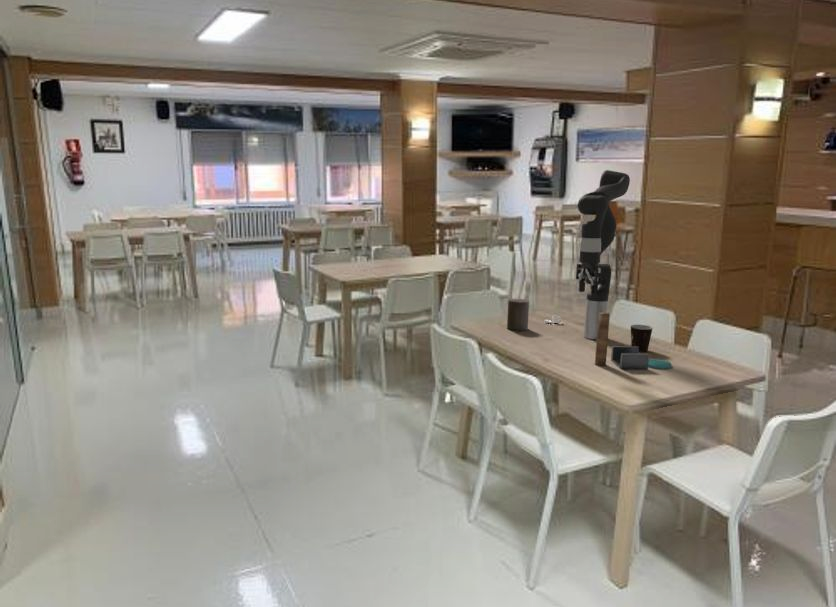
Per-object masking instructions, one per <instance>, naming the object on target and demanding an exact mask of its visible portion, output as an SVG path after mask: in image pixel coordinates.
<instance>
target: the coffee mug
mask: <svg viewBox="0 0 836 607" xmlns="http://www.w3.org/2000/svg"><path fill="white" fill-rule="evenodd" d="M652 332H653V326H650V325H647V324H631V325H630V346H638V347H639V352H638V353H647V351H649V347H650V342H651V338H652V334H653V333H652Z"/></svg>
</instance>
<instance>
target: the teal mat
mask: <svg viewBox="0 0 836 607" xmlns="http://www.w3.org/2000/svg"><path fill="white" fill-rule="evenodd" d="M672 365H673V364H672V363H671V362H669V361H667V360H664V359H656V358H649V361H648V368H651V369H656V370H669V369H671V368H672Z"/></svg>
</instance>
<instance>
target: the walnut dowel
mask: <svg viewBox="0 0 836 607" xmlns="http://www.w3.org/2000/svg"><path fill="white" fill-rule="evenodd" d="M610 317H611V314H610V313H609V312H607V313H605V312H600V313H599V317H598V330H597V340H596V346H595V358H594V365H595V366H599V367H606V366H607V357H608V356H607V354H608V343H609V342H608V341H609V329H610Z"/></svg>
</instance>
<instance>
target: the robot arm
mask: <svg viewBox="0 0 836 607" xmlns="http://www.w3.org/2000/svg"><path fill="white" fill-rule="evenodd" d="M630 181H631V180H630V176H629V174H627V173H625V172H620V171H619V172H618V171H615V170H609V169H607V170H604V171H603V172H602V174H601V176H600V179H599V184H598V185H599V186H598V187H597V188H596V189H595V190H593V191H592V192H588V193H585V194H583V195H582V196H581V197H580V198H579V200H578V202H577V209H578V211H579V213H580V214H581V215H583V216H584V215H585V216H595V218H594V219H593V220H589V221H584V222H583V223H582V224H581V235H580V236H581V237H580V239H581V240H580V244H579V259H578V260H579V261H578V262H579V263H577V264H576V272H575V279H576V280H577V281H578V282H579V283H578V292H579V293H585V291H586V284H587V285H591V288H590V291H588V292H587V294H586V303H585V318H584V329H583V337H584V338H585V339H588V340H593V339H595V340H596V341H597V330H598V317H599V313H600V312H605V313H608V306H609V295H610V286H611V280H612V267H611V265H610V264H608V263H601V258H602V257H601V255H602V254H603V253H604V252H605V251H606V250H607V249H608V248H609V247H610V245H611V244H612V243H613V242H614V241H615V237H616V231H617V219H616V218H615V215H614V213H613V211H612V209H611V206H610V202H611V201H613V200H615V199H618V198H621V197H623V196H625V195H626V194H627V192H628V189H629V186H630Z"/></svg>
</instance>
